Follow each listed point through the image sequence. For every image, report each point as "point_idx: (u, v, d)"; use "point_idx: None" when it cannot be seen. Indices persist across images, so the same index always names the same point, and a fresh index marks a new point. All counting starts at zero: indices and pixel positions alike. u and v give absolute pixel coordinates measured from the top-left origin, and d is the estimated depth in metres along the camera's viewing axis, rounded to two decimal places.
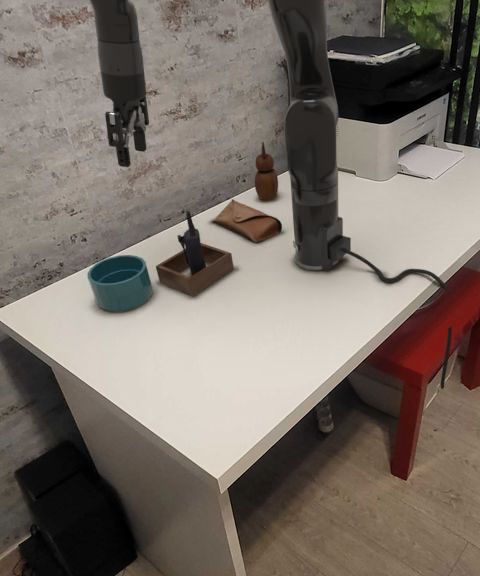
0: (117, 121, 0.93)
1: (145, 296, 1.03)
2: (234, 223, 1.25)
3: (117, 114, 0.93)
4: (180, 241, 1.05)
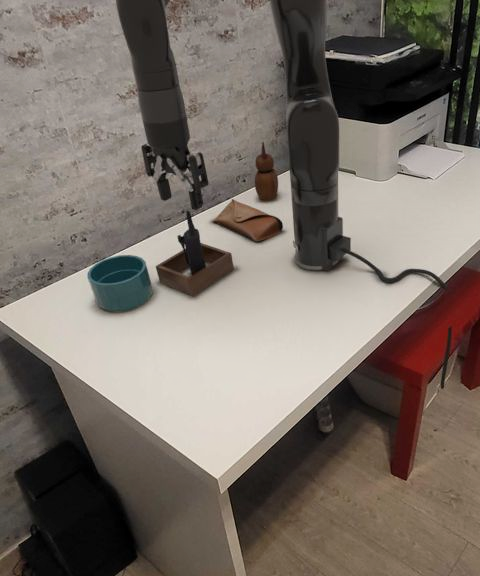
0: (202, 160, 0.92)
1: (145, 296, 1.03)
2: (235, 223, 1.25)
3: (200, 153, 0.92)
4: (180, 241, 1.05)
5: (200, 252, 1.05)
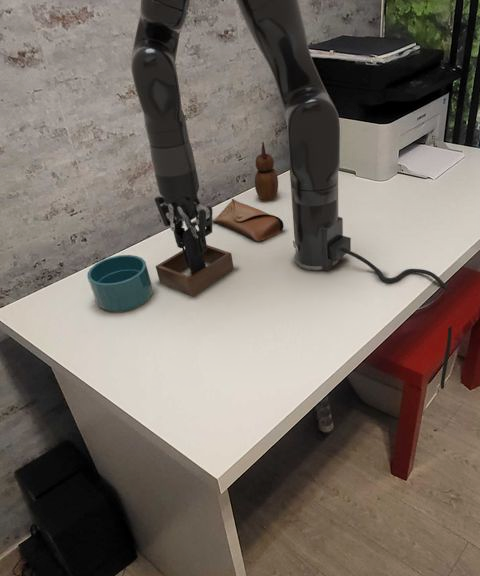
0: (211, 213, 0.99)
1: (145, 296, 1.03)
2: (235, 223, 1.25)
3: (210, 208, 0.98)
4: (179, 241, 1.05)
5: None
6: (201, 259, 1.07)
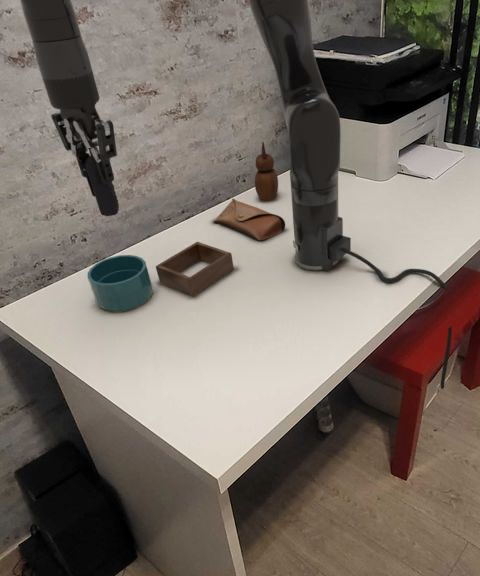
0: (112, 130, 0.84)
1: (145, 296, 1.03)
2: (237, 222, 1.25)
3: (110, 122, 0.83)
4: (82, 167, 0.90)
5: None
6: (108, 190, 0.92)
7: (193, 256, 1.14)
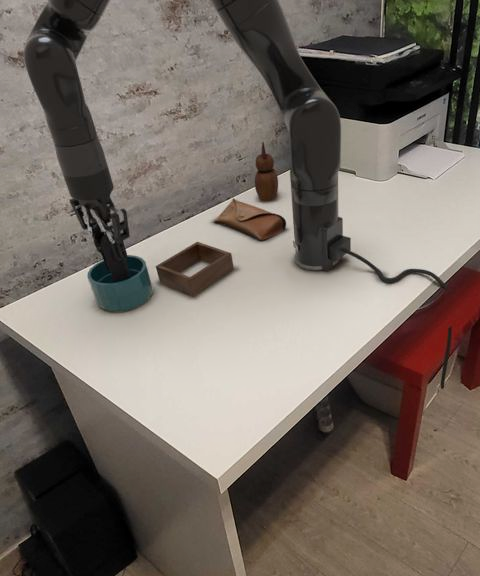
0: (126, 217, 0.92)
1: (145, 296, 1.03)
2: (238, 222, 1.25)
3: (124, 210, 0.91)
4: (97, 246, 0.98)
5: None
6: (121, 265, 1.00)
7: (193, 256, 1.14)
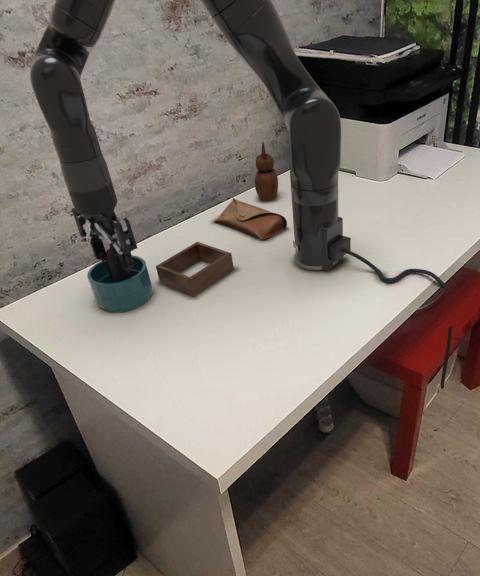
0: (129, 225, 0.93)
1: (145, 296, 1.03)
2: (239, 222, 1.25)
3: (126, 219, 0.92)
4: (102, 259, 1.00)
5: (123, 270, 1.01)
6: (126, 278, 1.02)
7: (193, 256, 1.14)
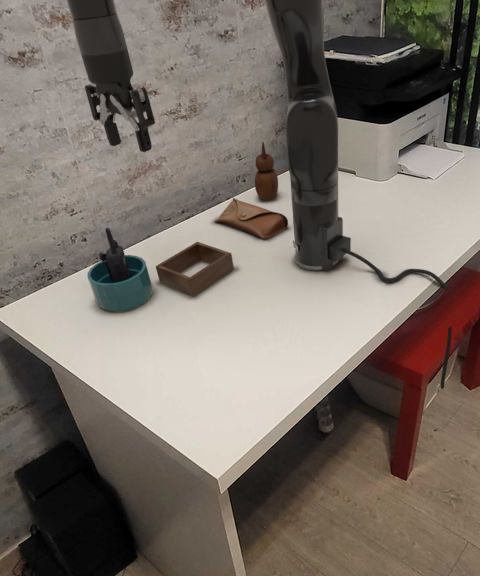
0: (146, 95, 0.88)
1: (145, 296, 1.03)
2: (240, 221, 1.25)
3: (143, 88, 0.88)
4: (102, 259, 1.00)
5: (123, 270, 1.01)
6: (126, 278, 1.02)
7: (193, 256, 1.14)
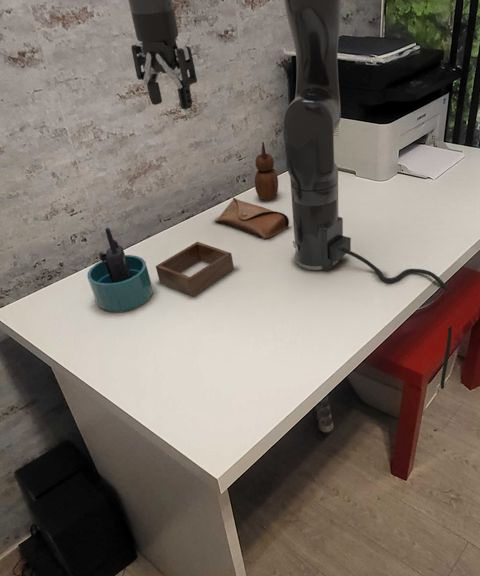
0: (190, 54, 0.94)
1: (145, 296, 1.03)
2: (241, 221, 1.25)
3: (188, 47, 0.94)
4: (102, 259, 1.00)
5: (123, 270, 1.01)
6: (126, 278, 1.02)
7: (193, 256, 1.14)
